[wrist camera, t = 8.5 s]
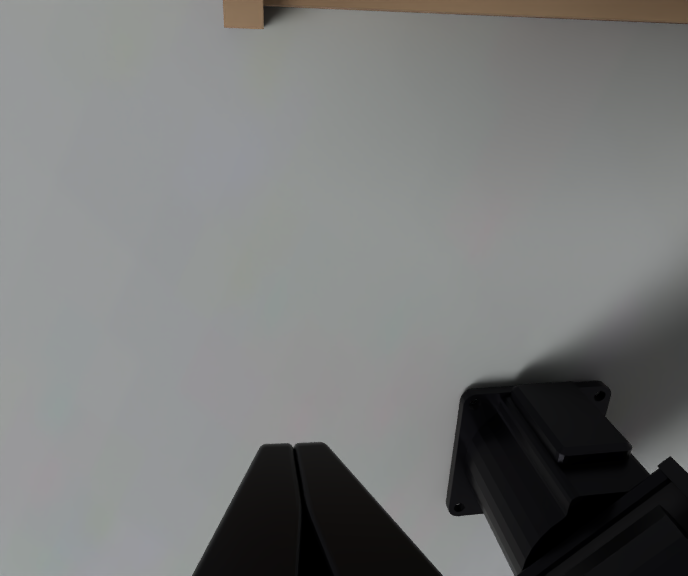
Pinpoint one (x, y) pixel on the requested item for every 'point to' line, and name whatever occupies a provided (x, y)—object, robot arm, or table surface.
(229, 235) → the table surface
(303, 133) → the table surface
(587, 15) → the rail
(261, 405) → the table surface
